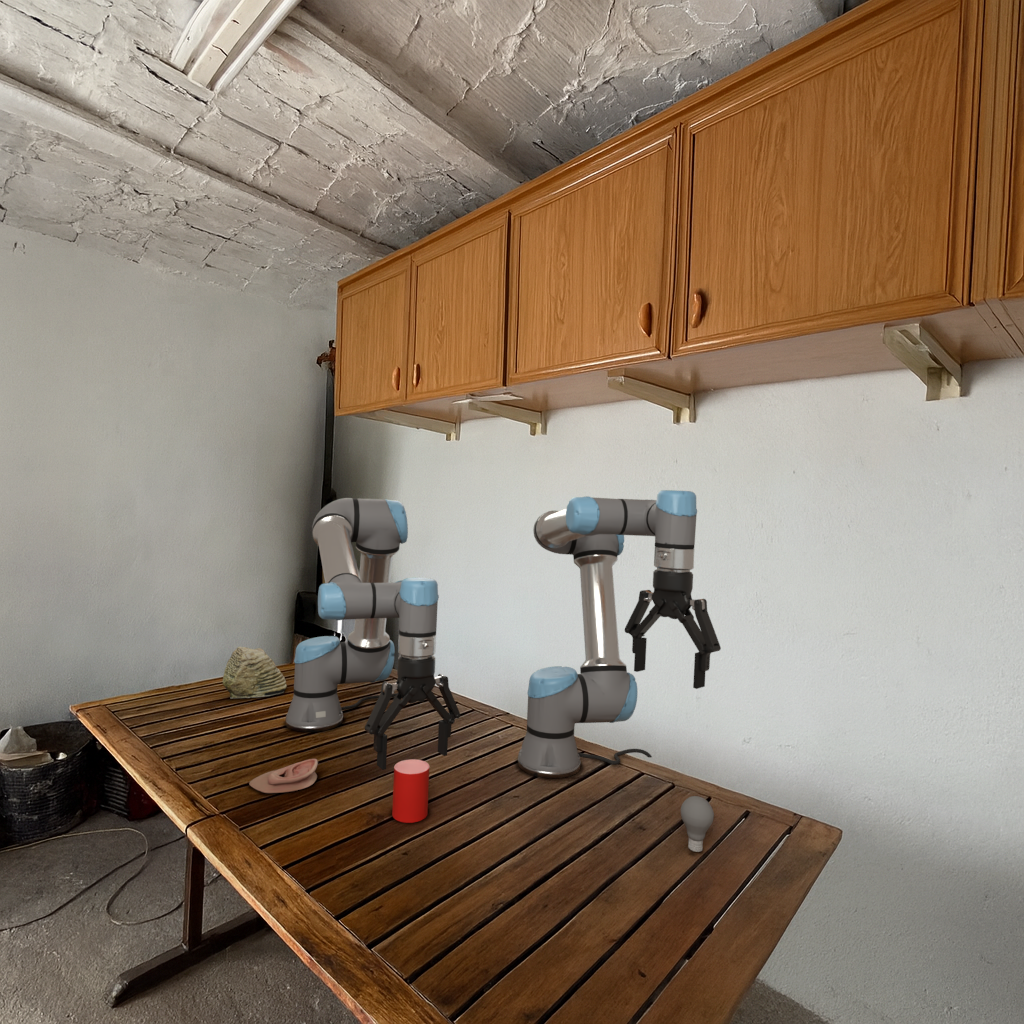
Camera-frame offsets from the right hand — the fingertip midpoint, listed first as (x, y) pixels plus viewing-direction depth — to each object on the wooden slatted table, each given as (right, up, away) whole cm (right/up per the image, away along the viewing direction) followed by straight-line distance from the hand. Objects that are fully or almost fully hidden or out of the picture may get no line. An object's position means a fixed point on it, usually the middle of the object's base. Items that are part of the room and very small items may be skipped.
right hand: (668, 678), depth 123 cm
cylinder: (-51, -29, +5) cm, 59 cm away
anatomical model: (-81, -27, +16) cm, 87 cm away
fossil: (-111, -25, +75) cm, 136 cm away
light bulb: (+4, -31, -4) cm, 32 cm away
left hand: (-50, -18, +5) cm, 54 cm away
